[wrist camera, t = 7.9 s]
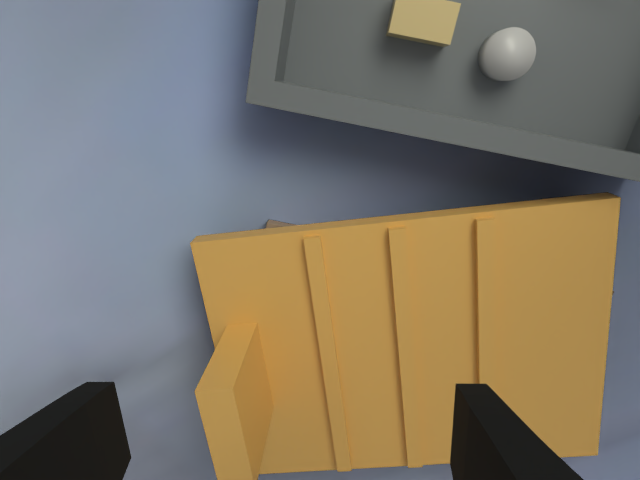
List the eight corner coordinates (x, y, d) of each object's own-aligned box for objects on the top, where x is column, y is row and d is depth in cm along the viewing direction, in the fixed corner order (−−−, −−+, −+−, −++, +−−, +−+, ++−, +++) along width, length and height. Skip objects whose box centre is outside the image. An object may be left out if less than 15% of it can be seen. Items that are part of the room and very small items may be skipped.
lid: (597, 187, 16) (712, 235, 11) (579, 429, 20) (661, 549, 15) (202, 230, 18) (144, 290, 13) (250, 449, 21) (220, 565, 16)
